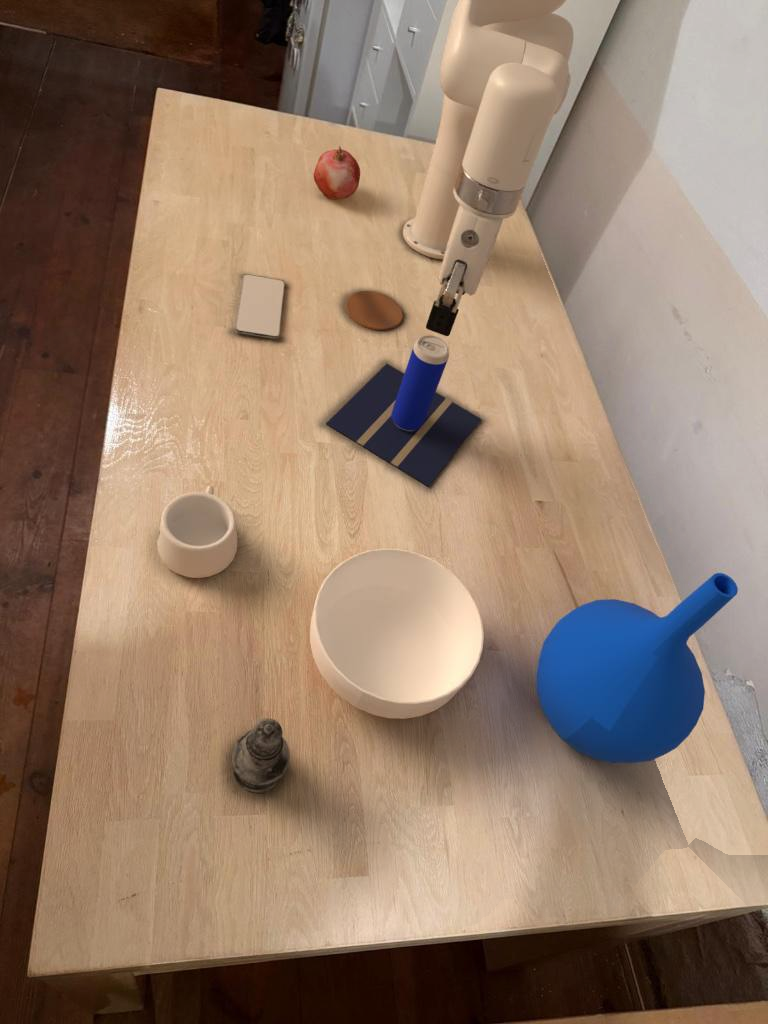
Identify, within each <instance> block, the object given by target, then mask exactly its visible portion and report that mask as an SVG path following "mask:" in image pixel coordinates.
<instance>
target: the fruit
mask: <svg viewBox="0 0 768 1024" xmlns="http://www.w3.org/2000/svg"><path fill="white" fill-rule="evenodd" d="M313 180H314V183H315V185H316V186H317V188H318V190H319V192H321V194H322V195H323V196H324V197H325V198H327V199H331V200H343V199H347V198H348V199H349V198H350V197H351V196H353V195H354V194H355V193H356V192H357V190H358V188H359V184H360V181H361V168H360V165H359V163H358V161H357V159H356V158H355V157H354V156H353V154H351V153H350V152H349V151H347V150H345V149H342V148H341V145H339V148H338V149H330V150H327V151H325V152H322V154H321V155H320V156H319V157H318V161H317V163H316V165H315V168H314V171H313Z"/></svg>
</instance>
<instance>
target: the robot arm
mask: <svg viewBox="0 0 768 1024" xmlns="http://www.w3.org/2000/svg"><path fill="white" fill-rule="evenodd" d="M566 1H567V0H458V2H457V4H456V6H455V8H454V11H453V14H452V17H451V21H450V24H449V29H448V32H447V37H446V41H445V45H444V49H443V52H442V58H441V64H440V69H439V82H440V88H441V90H442V91H443V93H444V94H443V100H442V108H441V115H440V122H439V126H438V127H439V128H438V132H437V135H436V140H435V144H434V148H433V151H432V155H431V159H430V162H429V165H428V170H427V172H426V176H425V180H424V184H423V187H422V190H421V194H420V197H419V202H418V205H417V209H416V212H415V216H414V217H413V218H411V219H408V220H407V221H406V222H405V223H404V224H403V225H404V226H403V228H402V237H403V239H404V241H405V242H406V243H407V245H408V246H409V247H410V248H412V250H414V251H415V252H417V253H419V254H421V255H423V256H425V257H428V258H432V259H436V260H442V263H441V267H440V270H439V276H438V283H439V284H440V285H441V286H440V289H439V292H438V294H437V297H436V299H435V300H434V301H433V304H432V307H431V310H430V312H429V316H428V319H427V321H426V324H425V328H426V330H428V331H431V332H434V333H436V334H439V335H442V336H444V337H449V336H450V335H451V332H452V330H453V327H454V324H455V322H456V319H457V316H458V313H459V310H460V309H459V304H460V302H461V300H462V296H464V295H465V294H467V295H469V296H473V295H475V294H476V292H477V290H478V287H479V285H480V282H481V280H482V277H483V274H484V272H485V269H486V266H487V264H488V261H489V259H490V256H491V254H492V251H493V249H494V246H495V243H496V241H497V238H498V235H499V233H500V230H501V227H502V223H503V220H505V219H507V218H508V219H509V218H510V217H512V216H513V215H515V213H516V210H517V208H518V206H519V203H520V200H521V198H522V195H523V193H524V190H525V188H526V185H527V182H528V180H529V177H530V174H531V172H532V170H533V166H534V164H535V161H536V159H537V157H538V154H539V151H540V149H541V146H542V144H543V141H544V138H545V136H546V134H547V131H548V128H549V126H550V124H551V121H552V119H553V117H554V115H557V113H559V111H560V109H561V108H562V106H563V104H564V102H565V99H566V97H567V94H568V91H569V87H570V84H571V77H572V76H571V74H570V69H569V60H570V57H571V54H572V50H573V45H574V37H575V36H574V29H573V26H572V24H571V23H570V21H569V20H568V19H567V18H565V17H563V16H561V15H558V14H556V13H554V12H556V11H557V10H558V9H560V8H561V7H562V6H563V5H564V4H565V3H566ZM456 294H457V295H456ZM455 297H456V298H455Z"/></svg>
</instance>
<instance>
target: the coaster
mask: <svg viewBox="0 0 768 1024" xmlns="http://www.w3.org/2000/svg"><path fill="white" fill-rule="evenodd" d="M345 310H346V312H347V314H348V316H349V317H350V319H351V320H352V321H354V322H355V323H356V324H358V325H360V326H361V327H364V328H365V329H369V330H374V331H389V330H392V329H395V328H397V327H398V326H399V325H400V324H401V322H402V320H403V310H402V308H401V306H400V304H399V303H398V302H397V301H395V299H393V298H392V297H390V296H388V295H387V294H384V293H382V292H379V291H374V290H373V291H372V290H361V291H360V290H359V291H357V292H354V293H352V294H351V295H350V296H349V297H348V298H347V300H346V302H345Z"/></svg>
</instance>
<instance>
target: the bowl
mask: <svg viewBox="0 0 768 1024" xmlns="http://www.w3.org/2000/svg"><path fill="white" fill-rule="evenodd" d="M309 626H310V627H309V644H310V648H311V649H310V650H311V653H312V657H313V660H314V662H315V665H316V667H317V669H318V672H319V673H320V675H321V676H322V678H323V680H324V681H325V682H326V683H327V685H328V686H329V687H330V688H331V689H332V691H334V692H335V693H336V694H337V695H338V696H339V697H340V698H341V699H342V700H344V701H345V702H347V703H348V704H350V705H351V706H352V707H354V708H356V709H358V710H361V711H363V712H365V713H368V714H370V715H373V716H377V717H381V718H386V719H402V720H403V719H404V720H405V719H411V718H412V719H413V718H417V717H422V716H425V715H427V714H430V713H432V712H435V711H437V710H438V709H440V708H441V707H443V706H444V705H445V704H448V702H450V701H451V699H453V697H455V696H456V695H457V694H458V692H459V691H460V690H461V689H462V688H463V687H465V685H466V683H468V681H469V680H470V679H471V677H472V676H473V674H474V672H475V671H476V668H477V667H478V666H479V663H480V660H481V657H482V654H483V651H484V635H485V633H484V627H483V620H482V616H481V614H480V611H479V608H478V605H477V603H476V601H475V600H474V597H473V596H472V594H471V593H470V591H469V590H468V587H466V586H465V584H464V583H463V582H462V581H461V580H460V578H459V577H457V575H455V574H454V573H453V572H451V570H450V569H448V567H446V566H445V565H443V564H441V563H439V562H438V561H436V560H434V559H433V558H430V557H428V556H425V555H423V554H421V553H419V552H414V551H410V550H407V549H402V548H387V547H386V548H376V549H375V548H374V549H369V550H366V551H363V552H359V553H356V554H354V555H351V556H350V557H348V558H346V559H344V560H343V561H341V562H340V563H339V564H338V565H336V566H335V567H334V568H333V569H332V570H331V571H330V572H329V574H328V575H327V576H326V577H325V578H324V580H323V581H322V583H321V586H320V587H319V589H318V591H317V594H316V598H315V601H314V605H313V610H312V614H311V618H310V625H309Z"/></svg>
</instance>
